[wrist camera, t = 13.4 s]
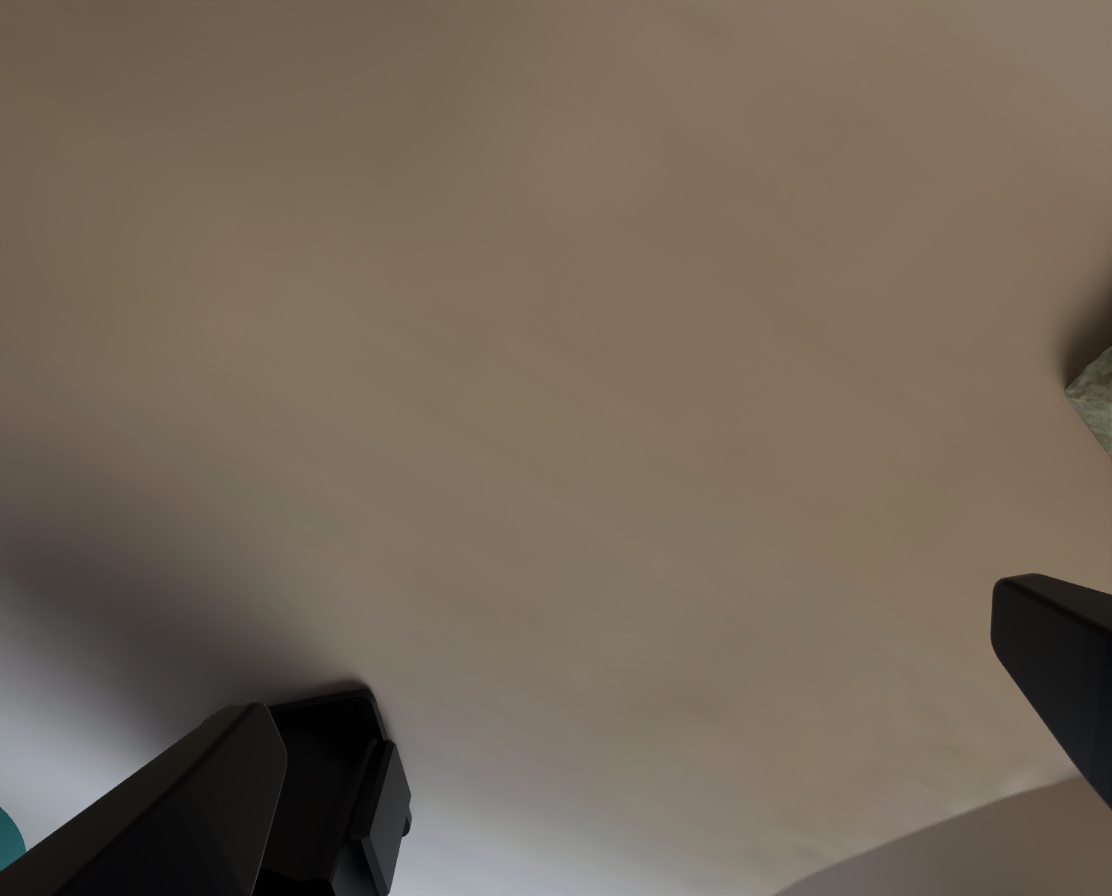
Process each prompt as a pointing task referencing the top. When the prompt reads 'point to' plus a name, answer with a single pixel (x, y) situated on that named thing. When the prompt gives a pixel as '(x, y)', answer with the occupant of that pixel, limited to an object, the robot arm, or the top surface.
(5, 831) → the bracket
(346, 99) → the top surface
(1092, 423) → the pale green flat block
